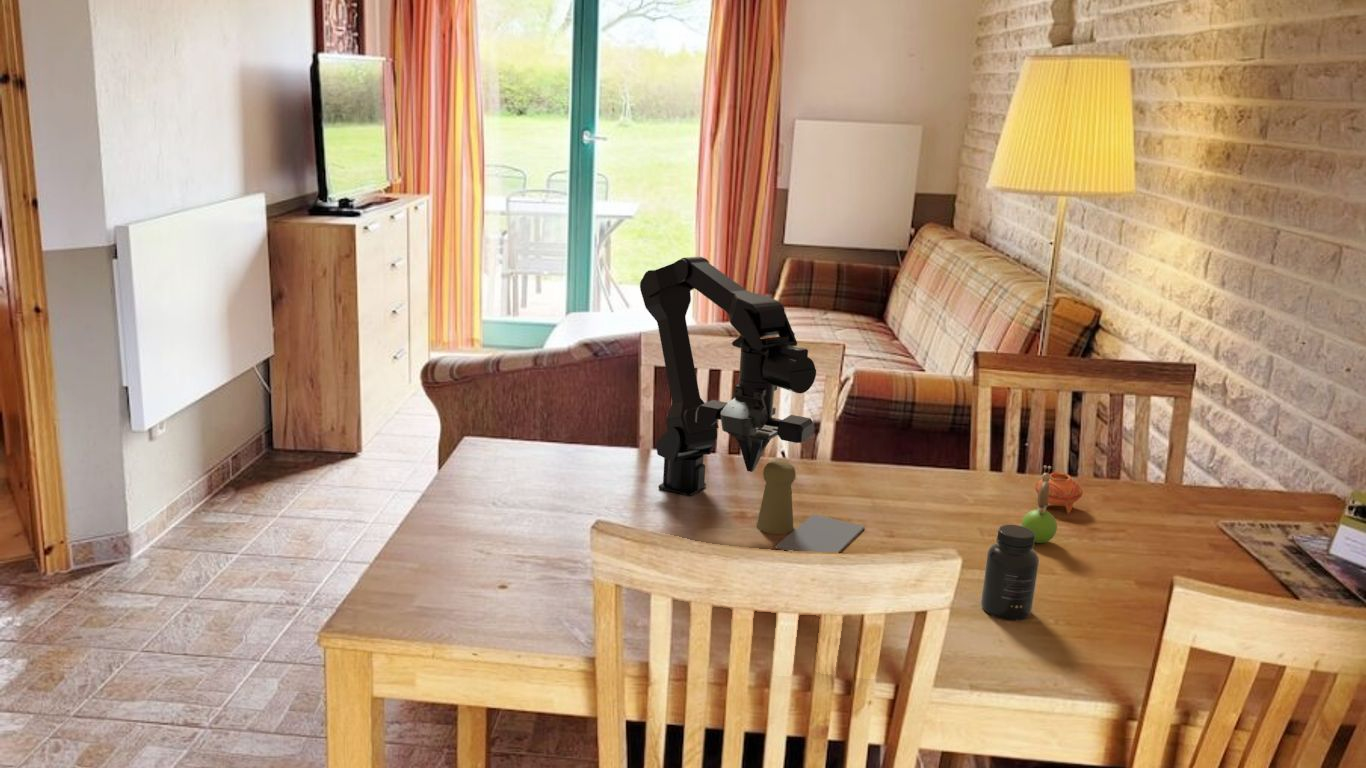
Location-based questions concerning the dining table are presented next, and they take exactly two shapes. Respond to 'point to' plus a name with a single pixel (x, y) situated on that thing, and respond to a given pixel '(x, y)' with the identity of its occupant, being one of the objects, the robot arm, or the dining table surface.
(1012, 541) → the supplement bottle
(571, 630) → the dining table surface
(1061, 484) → the pot
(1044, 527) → the snail figurine
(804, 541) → the mat
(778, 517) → the cork
